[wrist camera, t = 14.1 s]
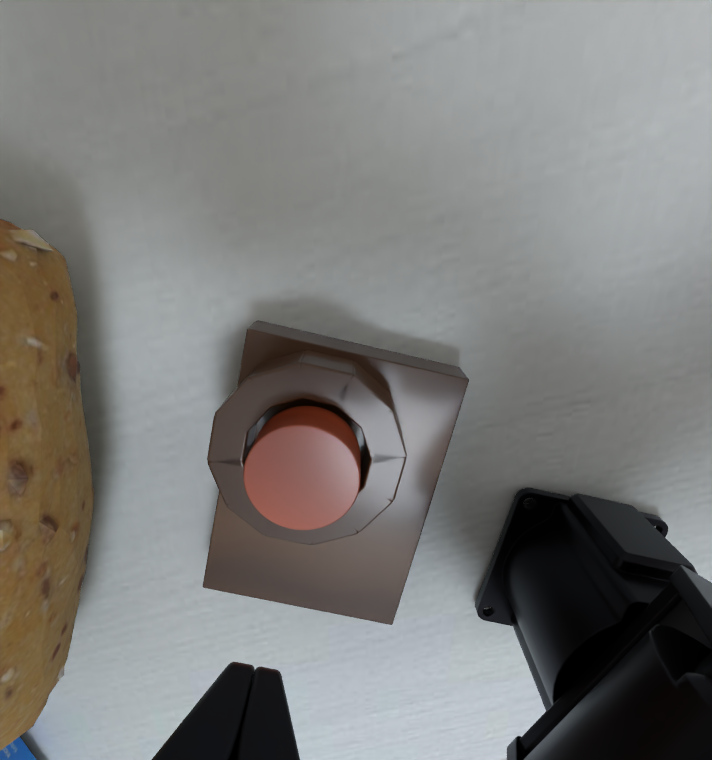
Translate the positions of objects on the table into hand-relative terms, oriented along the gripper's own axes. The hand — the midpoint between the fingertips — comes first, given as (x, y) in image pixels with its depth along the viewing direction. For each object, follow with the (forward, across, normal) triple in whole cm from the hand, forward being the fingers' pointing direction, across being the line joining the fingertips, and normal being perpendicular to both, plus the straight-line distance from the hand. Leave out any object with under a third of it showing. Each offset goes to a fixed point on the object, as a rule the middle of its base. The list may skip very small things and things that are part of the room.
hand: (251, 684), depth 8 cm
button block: (+12, -1, +2) cm, 12 cm away
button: (+9, 0, 0) cm, 9 cm away
